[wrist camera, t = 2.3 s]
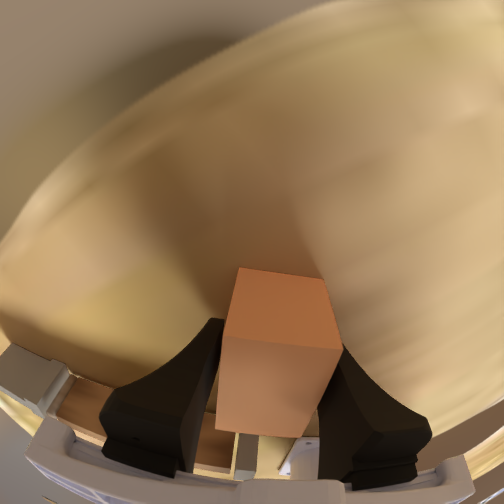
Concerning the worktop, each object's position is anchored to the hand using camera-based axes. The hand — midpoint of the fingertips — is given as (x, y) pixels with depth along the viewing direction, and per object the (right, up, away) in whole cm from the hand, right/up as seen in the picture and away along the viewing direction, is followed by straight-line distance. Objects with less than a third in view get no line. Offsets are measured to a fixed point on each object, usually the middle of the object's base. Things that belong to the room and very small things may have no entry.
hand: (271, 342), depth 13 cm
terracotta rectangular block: (0, +1, +1) cm, 2 cm away
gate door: (-9, -7, +5) cm, 12 cm away
